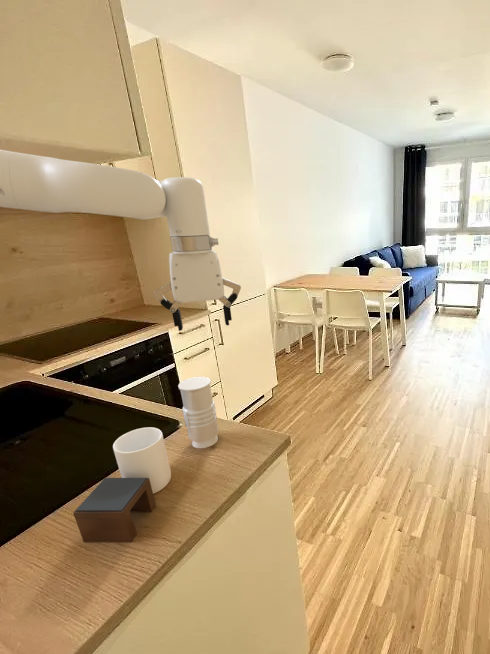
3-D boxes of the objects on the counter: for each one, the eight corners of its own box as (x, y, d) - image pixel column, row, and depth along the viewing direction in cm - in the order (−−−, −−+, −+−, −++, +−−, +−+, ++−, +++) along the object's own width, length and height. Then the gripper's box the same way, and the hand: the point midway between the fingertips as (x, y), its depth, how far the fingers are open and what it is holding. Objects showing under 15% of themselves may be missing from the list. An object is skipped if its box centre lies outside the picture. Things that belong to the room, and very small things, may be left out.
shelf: (83, 542, 58) (72, 511, 56) (113, 505, 66) (104, 476, 64) (131, 542, 58) (122, 511, 56) (156, 505, 66) (148, 476, 63)
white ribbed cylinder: (183, 442, 84) (171, 384, 79) (210, 429, 89) (200, 374, 84) (199, 453, 80) (187, 393, 74) (226, 439, 85) (217, 381, 79)
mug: (142, 460, 78) (131, 419, 74) (182, 456, 79) (173, 415, 75) (118, 501, 67) (104, 454, 63) (164, 496, 68) (153, 450, 64)
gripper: (234, 242, 79) (243, 318, 84) (147, 246, 73) (163, 326, 79) (237, 244, 72) (246, 326, 78) (141, 248, 67) (159, 336, 72)
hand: (204, 326), depth 78 cm, fingers open, 9 cm apart
